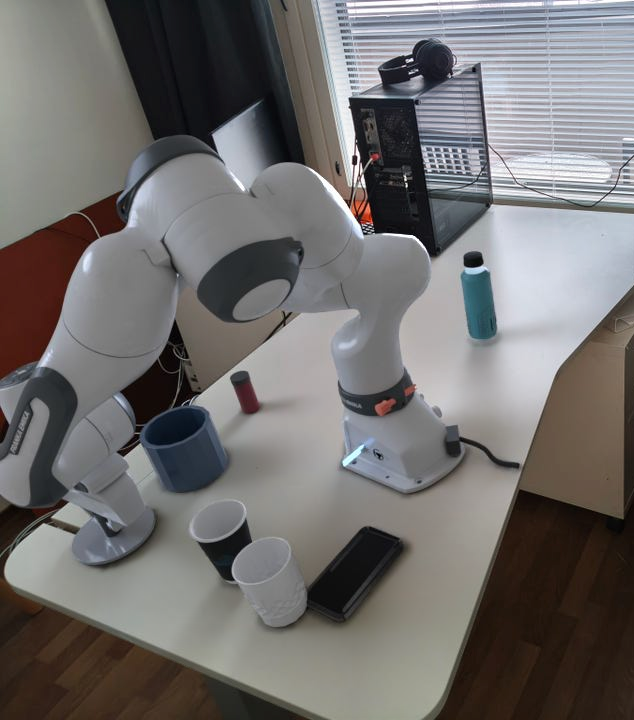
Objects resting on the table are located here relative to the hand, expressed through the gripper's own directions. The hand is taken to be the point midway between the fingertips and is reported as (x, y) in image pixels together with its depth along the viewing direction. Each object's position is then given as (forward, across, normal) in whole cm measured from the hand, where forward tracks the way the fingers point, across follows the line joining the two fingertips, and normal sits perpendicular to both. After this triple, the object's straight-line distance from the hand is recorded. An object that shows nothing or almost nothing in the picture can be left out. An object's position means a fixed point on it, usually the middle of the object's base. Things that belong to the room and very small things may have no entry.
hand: (109, 524), depth 110 cm
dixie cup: (+3, +25, +3) cm, 25 cm away
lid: (+2, 0, 0) cm, 2 cm away
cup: (+3, 0, +17) cm, 17 cm away
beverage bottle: (+3, +30, +73) cm, 78 cm away
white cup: (+3, +36, +1) cm, 36 cm away
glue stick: (+3, -3, +34) cm, 35 cm away
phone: (+3, +41, +9) cm, 43 cm away
